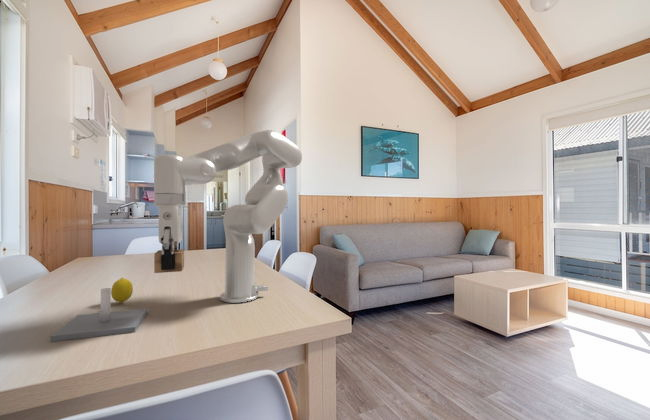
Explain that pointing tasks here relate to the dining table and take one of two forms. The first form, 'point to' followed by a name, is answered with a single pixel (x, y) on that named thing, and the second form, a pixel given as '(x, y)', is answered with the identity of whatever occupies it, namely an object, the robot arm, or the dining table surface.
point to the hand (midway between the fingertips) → (170, 266)
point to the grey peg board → (101, 322)
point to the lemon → (122, 290)
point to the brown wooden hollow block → (178, 261)
